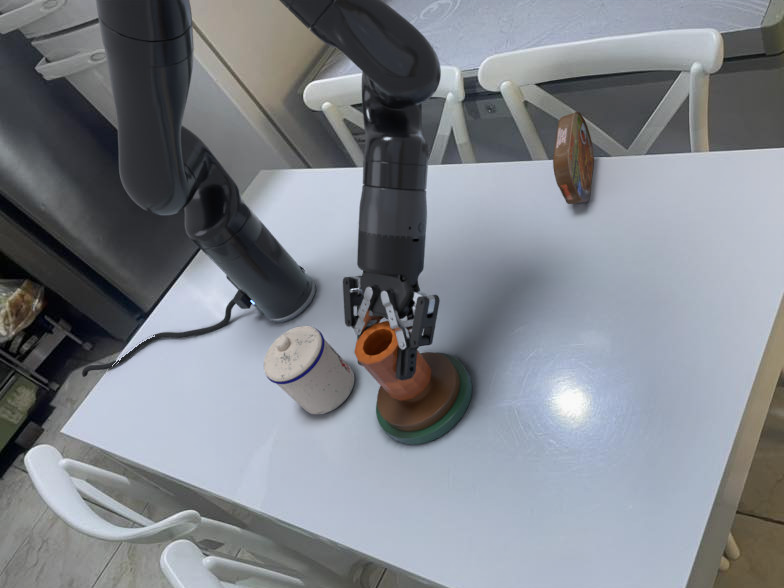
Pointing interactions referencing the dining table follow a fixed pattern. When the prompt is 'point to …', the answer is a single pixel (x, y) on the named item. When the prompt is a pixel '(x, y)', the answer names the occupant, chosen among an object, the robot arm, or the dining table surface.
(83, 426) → the dining table surface
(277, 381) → the teacup with lid
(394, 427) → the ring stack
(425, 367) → the orange hollow cylinder
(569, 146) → the tin
